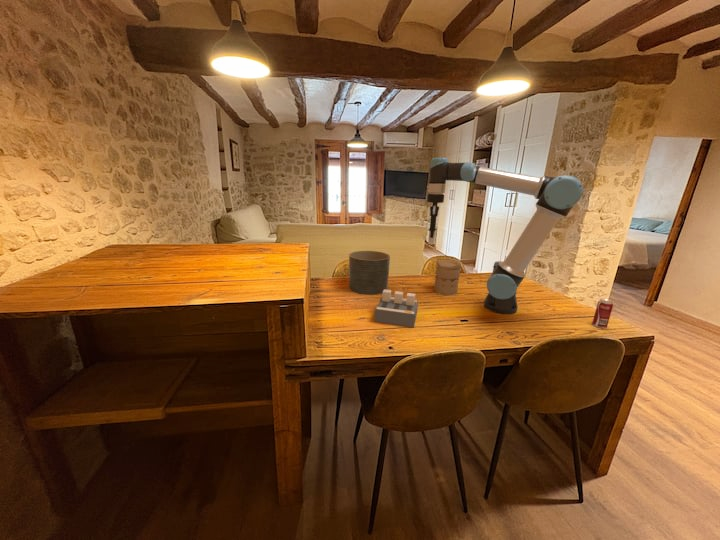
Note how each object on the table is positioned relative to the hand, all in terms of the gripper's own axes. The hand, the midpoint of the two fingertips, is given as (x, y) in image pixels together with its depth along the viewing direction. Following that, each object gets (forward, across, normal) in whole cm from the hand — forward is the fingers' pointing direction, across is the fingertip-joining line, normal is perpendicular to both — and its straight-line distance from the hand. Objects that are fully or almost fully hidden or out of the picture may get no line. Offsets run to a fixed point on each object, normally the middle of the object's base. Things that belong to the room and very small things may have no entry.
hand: (431, 244), depth 144 cm
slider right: (+24, +20, -6) cm, 32 cm away
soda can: (+31, +2, +76) cm, 82 cm away
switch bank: (+30, +22, -12) cm, 39 cm away
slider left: (+24, +19, -17) cm, 35 cm away
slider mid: (+24, +20, -12) cm, 33 cm away
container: (+31, -17, +10) cm, 36 cm away
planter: (+31, -8, -32) cm, 45 cm away
